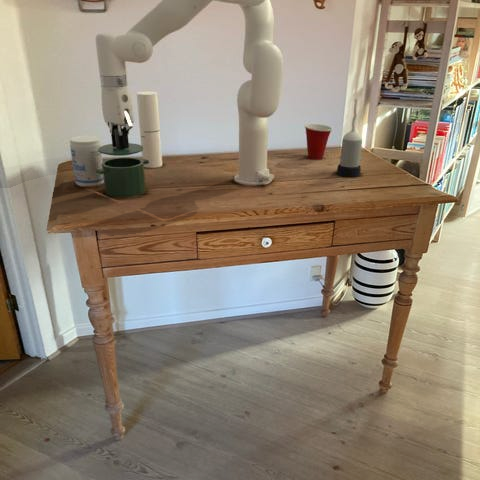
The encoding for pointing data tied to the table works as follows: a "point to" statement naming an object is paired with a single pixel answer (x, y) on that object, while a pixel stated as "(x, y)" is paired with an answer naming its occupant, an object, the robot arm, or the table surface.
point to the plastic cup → (317, 139)
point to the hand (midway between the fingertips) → (120, 146)
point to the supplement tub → (86, 160)
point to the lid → (116, 150)
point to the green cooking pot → (123, 176)
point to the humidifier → (351, 151)
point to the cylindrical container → (149, 128)
